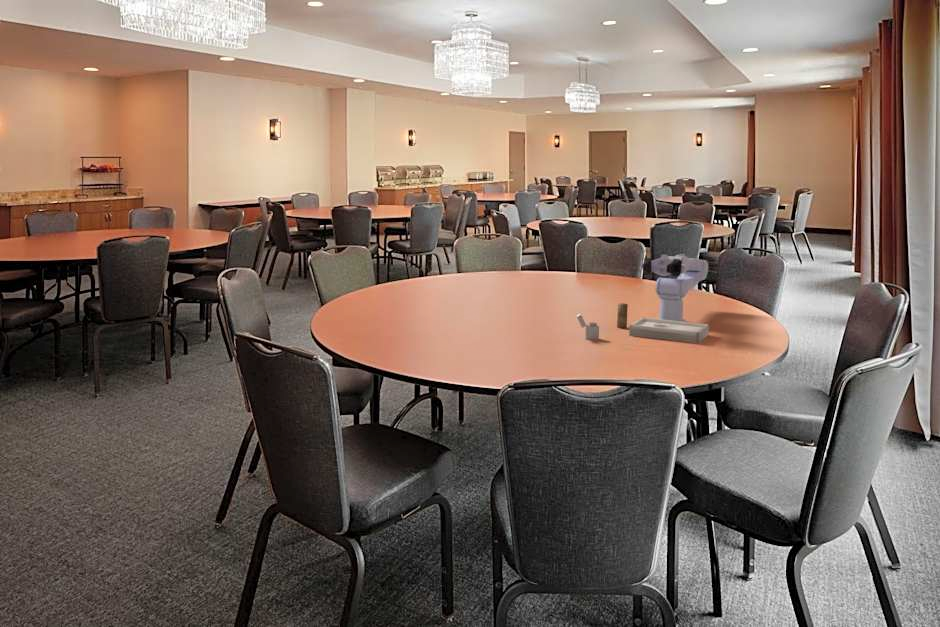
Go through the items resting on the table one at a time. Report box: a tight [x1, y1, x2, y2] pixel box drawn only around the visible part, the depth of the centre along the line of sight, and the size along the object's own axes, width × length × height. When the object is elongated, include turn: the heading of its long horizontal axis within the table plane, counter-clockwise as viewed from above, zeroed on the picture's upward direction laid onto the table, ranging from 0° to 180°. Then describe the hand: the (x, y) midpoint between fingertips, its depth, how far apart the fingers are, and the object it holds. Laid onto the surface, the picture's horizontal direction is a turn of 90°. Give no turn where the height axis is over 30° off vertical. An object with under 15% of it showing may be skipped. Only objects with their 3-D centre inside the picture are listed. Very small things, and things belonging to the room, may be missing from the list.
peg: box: [616, 302, 629, 329], centre depth 244 cm, size 3×3×8 cm
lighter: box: [576, 313, 600, 341], centre depth 228 cm, size 7×2×8 cm, turn 81°
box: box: [628, 317, 710, 344], centre depth 233 cm, size 13×22×4 cm, turn 59°
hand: (655, 268), depth 231 cm, fingers open, 7 cm apart
